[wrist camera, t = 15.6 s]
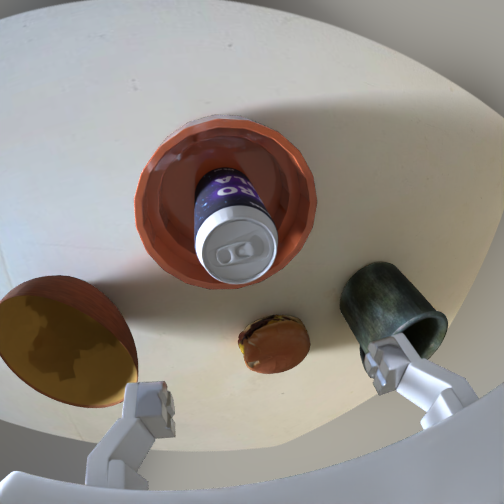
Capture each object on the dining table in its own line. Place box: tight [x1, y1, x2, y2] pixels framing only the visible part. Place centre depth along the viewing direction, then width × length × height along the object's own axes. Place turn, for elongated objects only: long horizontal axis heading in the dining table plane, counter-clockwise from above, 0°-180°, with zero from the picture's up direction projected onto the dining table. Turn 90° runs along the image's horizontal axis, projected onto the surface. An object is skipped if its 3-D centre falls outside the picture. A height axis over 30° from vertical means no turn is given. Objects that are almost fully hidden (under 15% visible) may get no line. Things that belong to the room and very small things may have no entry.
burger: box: [238, 315, 310, 374], centre depth 39 cm, size 10×9×5 cm
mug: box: [340, 262, 448, 379], centre depth 36 cm, size 11×15×12 cm
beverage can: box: [194, 167, 278, 284], centre depth 24 cm, size 6×6×12 cm
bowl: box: [0, 275, 138, 408], centre depth 29 cm, size 18×18×10 cm
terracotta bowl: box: [134, 115, 317, 289], centre depth 27 cm, size 15×15×6 cm
